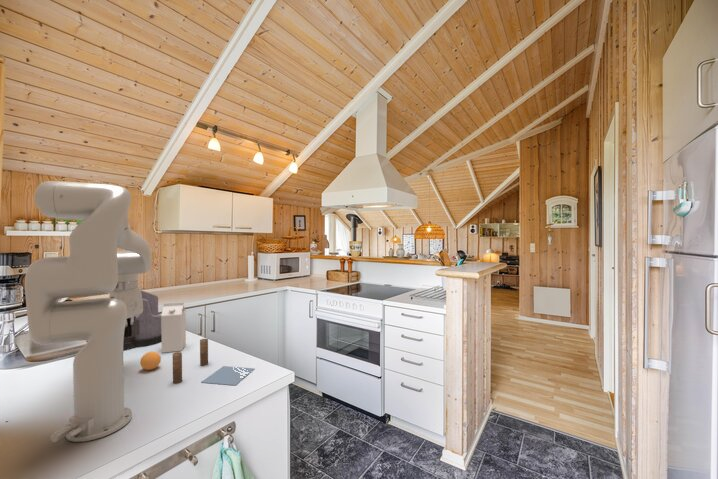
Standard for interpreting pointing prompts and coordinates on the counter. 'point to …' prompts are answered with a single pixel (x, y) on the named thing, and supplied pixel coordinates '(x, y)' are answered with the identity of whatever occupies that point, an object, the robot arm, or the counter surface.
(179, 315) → the milk carton
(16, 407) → the counter surface
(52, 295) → the robot arm
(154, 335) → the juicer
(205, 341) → the outer post
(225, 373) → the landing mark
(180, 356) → the inner post
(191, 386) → the counter surface
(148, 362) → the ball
